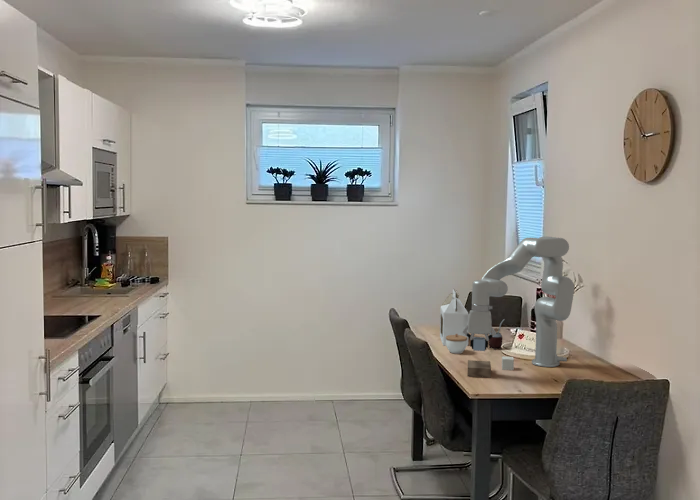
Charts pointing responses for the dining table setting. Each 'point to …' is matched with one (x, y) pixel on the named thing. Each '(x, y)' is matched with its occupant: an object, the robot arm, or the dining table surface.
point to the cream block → (507, 363)
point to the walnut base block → (479, 369)
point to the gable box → (453, 317)
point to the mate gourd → (496, 340)
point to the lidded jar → (456, 343)
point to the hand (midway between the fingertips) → (479, 348)
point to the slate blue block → (479, 344)
